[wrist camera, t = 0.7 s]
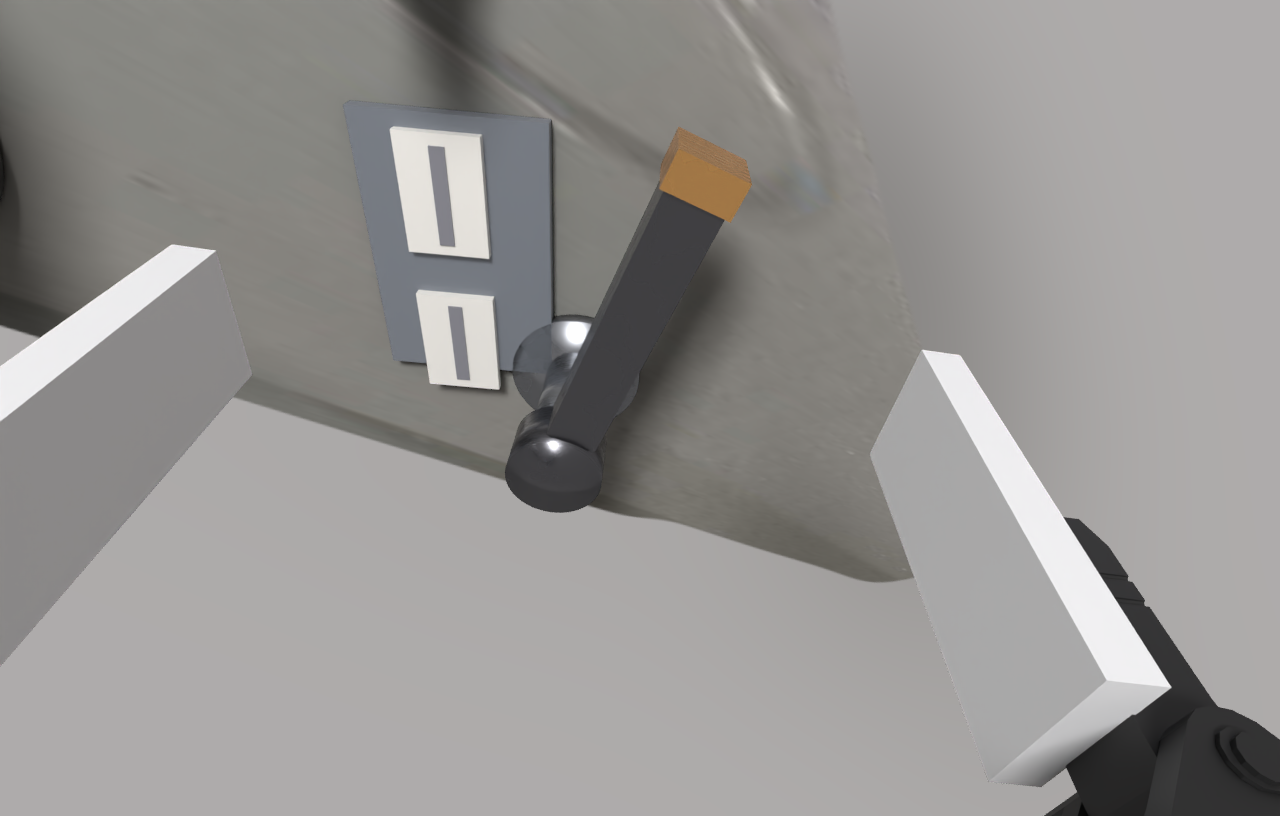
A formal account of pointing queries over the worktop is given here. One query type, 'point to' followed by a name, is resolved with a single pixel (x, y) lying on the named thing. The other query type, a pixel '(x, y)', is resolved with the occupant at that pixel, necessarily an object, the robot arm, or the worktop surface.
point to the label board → (458, 235)
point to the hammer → (627, 325)
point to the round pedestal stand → (558, 363)
